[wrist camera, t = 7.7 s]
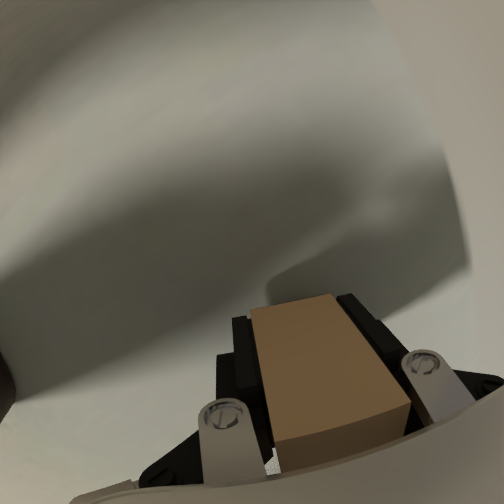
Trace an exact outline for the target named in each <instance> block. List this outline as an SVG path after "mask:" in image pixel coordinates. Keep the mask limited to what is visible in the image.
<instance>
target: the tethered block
mask: <svg viewBox="0 0 504 504" xmlns="http://www.w3.org/2000/svg"><path fill="white" fill-rule="evenodd" d="M250 314H251V320H252V325H253V331H254V336H255V342H256V347H257V353H258V358H259V363H260V369H261V374H262V380H263V385H264V390H265V396H266V401H267V406H268V411H269V417H270V422H271V427H272V432H273V437H274V442H275V447H276V452H277V456H278V461H279V465H280V470H281V473H284V472H289V471H293V470H298V469H302V468H307V467H311V466H315V465H319V464H323V463H326V462H330V461H334V460H337V459H341V458H344V457H348V456H351V455H354V454H357V453H360V452H363V451H366V450H369V449H372V448H375V447H378V446H381V445H383V444H386V443H389V442H391V441H394V440H396V439H399V438H401V437H403V434H404V430H405V427H406V423H407V419H408V415H409V410H410V406H411V400H410V399H409V398H408V396H407V395H406V393H405V392H404V391H403V389H402V388H401V386H400V385H399V384H398V382H397V381H396V380H395V378H394V377H393V375H392V374H391V373H390V371H389V370H388V369H387V367H386V366H385V365H384V363H383V362H382V361H381V359H380V358H379V356H378V355H377V354H376V352H375V351H374V350H373V348H372V347H371V346H370V344H369V343H368V342H367V340H366V339H365V338H364V336H363V335H362V334H361V332H360V331H359V330H358V329H357V327H356V326H355V325H354V323H353V322H352V321H351V319H350V318H349V317H348V315H347V314H346V313H345V312H344V310H343V309H342V308H341V306H340V305H339V304H338V302H337V301H336V300H335V299H334V297H333V296H332V295H331V293H329V294H325V295H320V296H316V297H311V298H307V299H302V300H297V301H292V302H287V303H282V304H278V305H272V306H267V307H262V308H257V309H252V310H250Z"/></svg>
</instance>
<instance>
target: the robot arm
mask: <svg viewBox="0 0 504 504" xmlns="http://www.w3.org/2000/svg"><path fill="white" fill-rule="evenodd" d="M336 301H337V302H338V304H339V305H340V306H341V308H342V309H343V310H344V312H345V313H346V314H347V315H348V317H349V318H350V319H351V321H352V322H353V323H354V325H355V326H356V327H357V329H358V330H359V331H360V332H361V334H362V335H363V336H364V338H365V339H366V340H367V342H368V343H369V344H370V346H371V347H372V348H373V350H374V351H375V352H376V354H377V355H378V356H379V358H380V359H381V361H382V362H383V363H384V365H385V366H386V367H387V369H388V370H389V371H390V373H391V374H392V375H393V377H394V378H395V380H396V381H397V382H398V384H399V385H400V386H401V388H402V389H403V391H404V392H405V393H406V395H407V396H408V398H409V399H410V400H411V406H410V410H409V415H408V419H407V423H406V427H405V430H404V434H403V437H401V438H399V439H396V440H394V441H391V442H389V443H386V444H383V445H381V446H378V447H375V448H372V449H369V450H366V451H363V452H360V453H357V454H354V455H351V456H348V457H344V458H341V459H337V460H334V461H330V462H326V463H323V464H319V465H315V466H311V467H307V468H302V469H298V470H293V471H289V472H284V473H279V474H273V475H267V473H266V470H265V466H264V465H265V464H266V463H267V462H268V461H269V460H270V459H271V458H272V457H274V456H273V451H272V448H275V442H274V437H273V432H272V427H271V422H270V417H269V411H268V406H267V401H266V396H265V390H264V385H263V380H262V374H261V369H260V363H259V358H258V353H257V347H256V342H255V336H254V331H253V325H252V320H251V318H250V319H247V316H246V315H245V316H240V317H234V318H232V329H233V344H234V352H232V353H226V354H220V355H217V358H216V400H214V401H212V402H210V403H208V404H207V405H206V406H204V407H203V408H202V409H201V411H200V413H199V416H198V426H199V430H197V431H196V432H195V433H194V434H192V435H191V436H190V437H188V438H187V439H186V440H185V441H183V442H182V443H181V444H179V445H178V446H177V447H175V448H174V449H173V450H171V451H170V452H169V453H167V454H166V455H165V456H163V457H162V458H160V459H159V460H158V461H156V462H155V463H153V464H152V465H151V466H149V467H148V468H147V469H146V470H145V471H143V473H142V474H141V476H140V478H139V480H137V481H134V482H132V480H131V479H129V480H126V481H123V482H121V483H118V484H115V485H112V486H109V487H106V488H102V489H99V490H96V491H93V492H89V493H86V494H82V495H79V496H77V497H75V498H74V499H73V500H72V501H71V502H70V503H69V504H504V379H503V378H501V377H499V376H495V375H489V374H481V373H474V372H466V371H459V370H453V369H451V367H450V366H449V365H448V364H447V362H446V361H445V360H444V359H443V357H442V356H441V355H439V354H438V353H436V352H434V351H431V350H425V349H420V350H414V351H412V352H409V351H408V350H407V349H406V348H405V347H404V346H403V345H402V343H401V342H400V341H399V340H398V339H397V338H396V337H395V336H394V335H393V334H392V332H391V331H390V330H389V329H388V328H387V327H386V326H385V325H384V324H383V323H382V322H381V321H380V320H376V319H375V318H374V317H373V316H372V315H371V314H370V313H369V312H368V311H367V309H366V308H365V307H364V306H363V305H362V304H361V303H360V302H359V301H358V300H357V299H356V298H355V296H354V295H353V294H351V293H350V294H346V295H341V296H337V298H336Z"/></svg>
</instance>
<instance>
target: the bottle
mask: <svg viewBox="0 0 504 504" xmlns="http://www.w3.org/2000/svg"><path fill="white" fill-rule="evenodd" d="M14 400H15V388H14V385H13V382H12V378H11V375H10V372H9V371H8V369H7V367H6V365H5V363H4V361H3V359H2V358H1V356H0V423H1V421H2V420H3V418H4V417H5V415H6V414H7V412H8V411H9V409H10V408H11V406H12V405H13V403H14Z"/></svg>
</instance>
